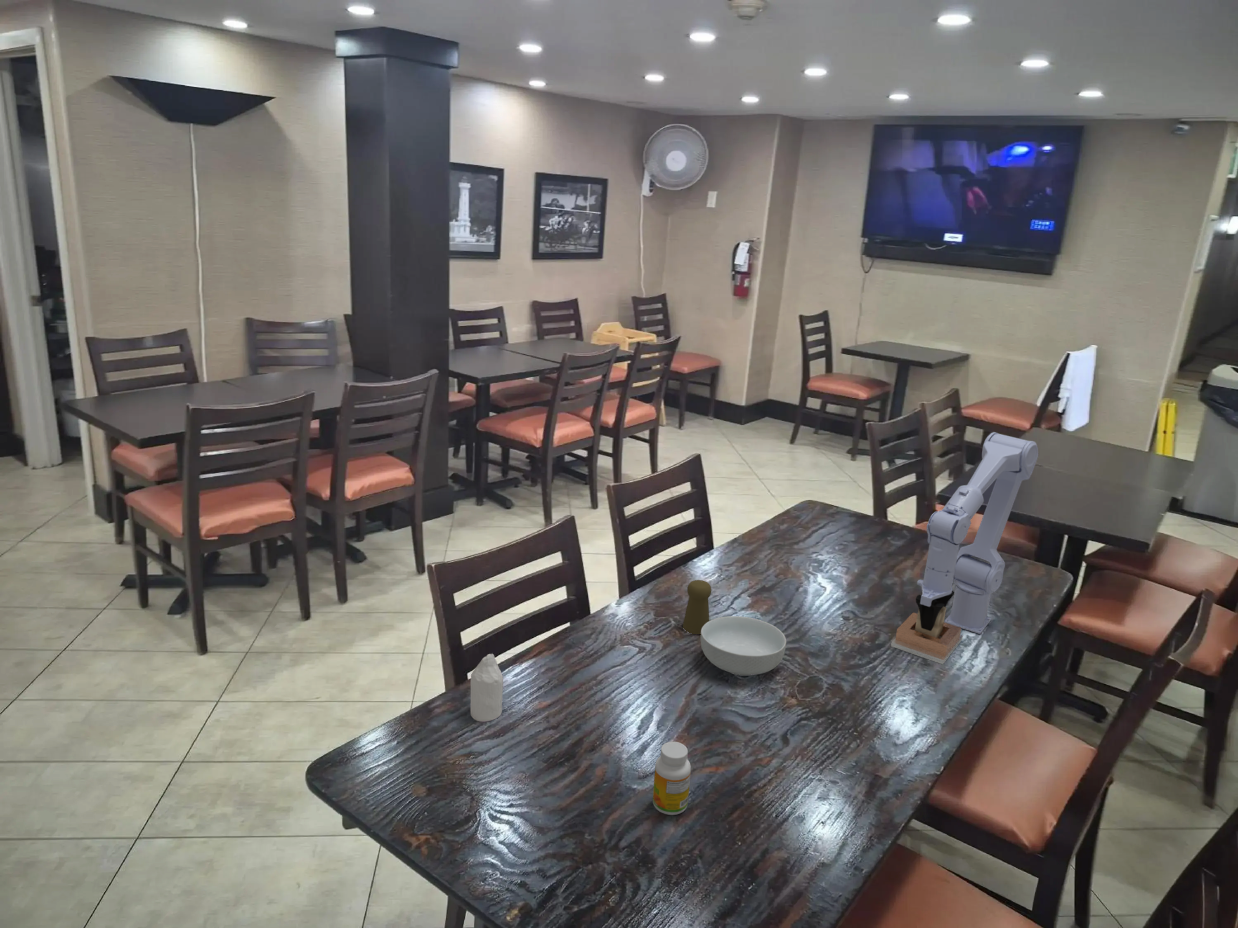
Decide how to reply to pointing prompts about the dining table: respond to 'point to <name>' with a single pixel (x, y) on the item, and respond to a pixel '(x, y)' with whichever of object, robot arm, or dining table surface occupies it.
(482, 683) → the grey pointed cylinder
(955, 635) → the orange-brown socket block
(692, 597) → the olive salt shaker
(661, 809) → the supplement bottle
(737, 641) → the cereal bowl
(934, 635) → the birch block
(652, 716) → the dining table surface
